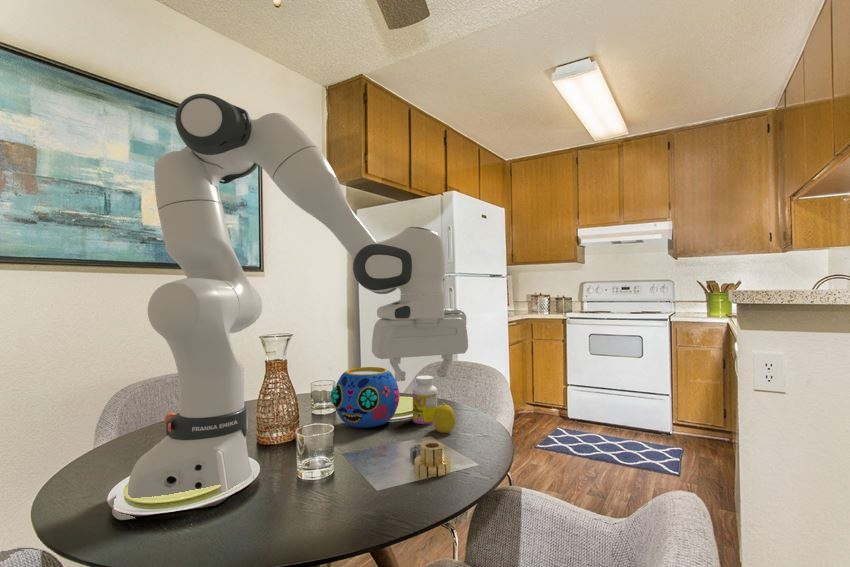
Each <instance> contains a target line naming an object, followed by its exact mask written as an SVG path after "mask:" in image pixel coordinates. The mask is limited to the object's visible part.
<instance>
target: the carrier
mask: <svg viewBox="0 0 850 567" xmlns="http://www.w3.org/2000/svg"><path fill="white" fill-rule="evenodd" d="M432 441H433V442H440V443H442V444H444V455H446V456H448V457H450V461H451V471H450V472H449V473H453V472H458V471H462V470H466V469H470V468H474V467H478V466H480V464H479V463H477V462H475V461H473V460H472V459H470V458H469V457H467V456H465V455H463V454H462V453H460V452H458V451H457V450H455V449H454V448H452V447H450V446H448V445H446V444H445V443H443V442H441V441H440V440H438V439H437V438H435V437H432V436H425V437H420V438H415V439H410V440H405V441H400V442H395V443H389V444H384V445H379V446H375V447H370V448H365V449H360V450H354V451H349V452H345V453H341V455H342V456H343V457H344V458H345V459H346V460H347V461H348V462H349V464H351V465H352V466H353V467H354V468H355V470H356V471H358V473H359V474H360V475H361V476H362V477H363V478H364V479H365V480H366V481H367V482H368V483H369V484H370V485H371V486H372V487H373V489H374V490H375V491H376V492H377V491H382V490H385V489H389V488H394V487H397V486H401V485H407V484H409V483H414V482H418V481H421V480H425V479H426V480H427V479H429V478H431V477H428V476H427V477H426V476H422V475H420V474H417V473H416V472H415V465H414V461H415V458H416V457H417V456H419V455H420V456H421V449H420V446H421V445H422V443H425V442H432ZM449 473H448V474H449ZM436 477H438V476H437V475H436Z"/></svg>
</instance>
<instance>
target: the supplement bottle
mask: <svg viewBox="0 0 850 567" xmlns="http://www.w3.org/2000/svg"><path fill="white" fill-rule="evenodd" d="M415 382H416V385H415V386H414V387H413V388H412V422H413V423H415V424H419V425H433V426H434V423H433V415H434V411H435V409H436V408H437V407H438V388H437V387H436V386H434V385H433V384H434V376H433V375H418V376H416V377H415Z"/></svg>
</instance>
